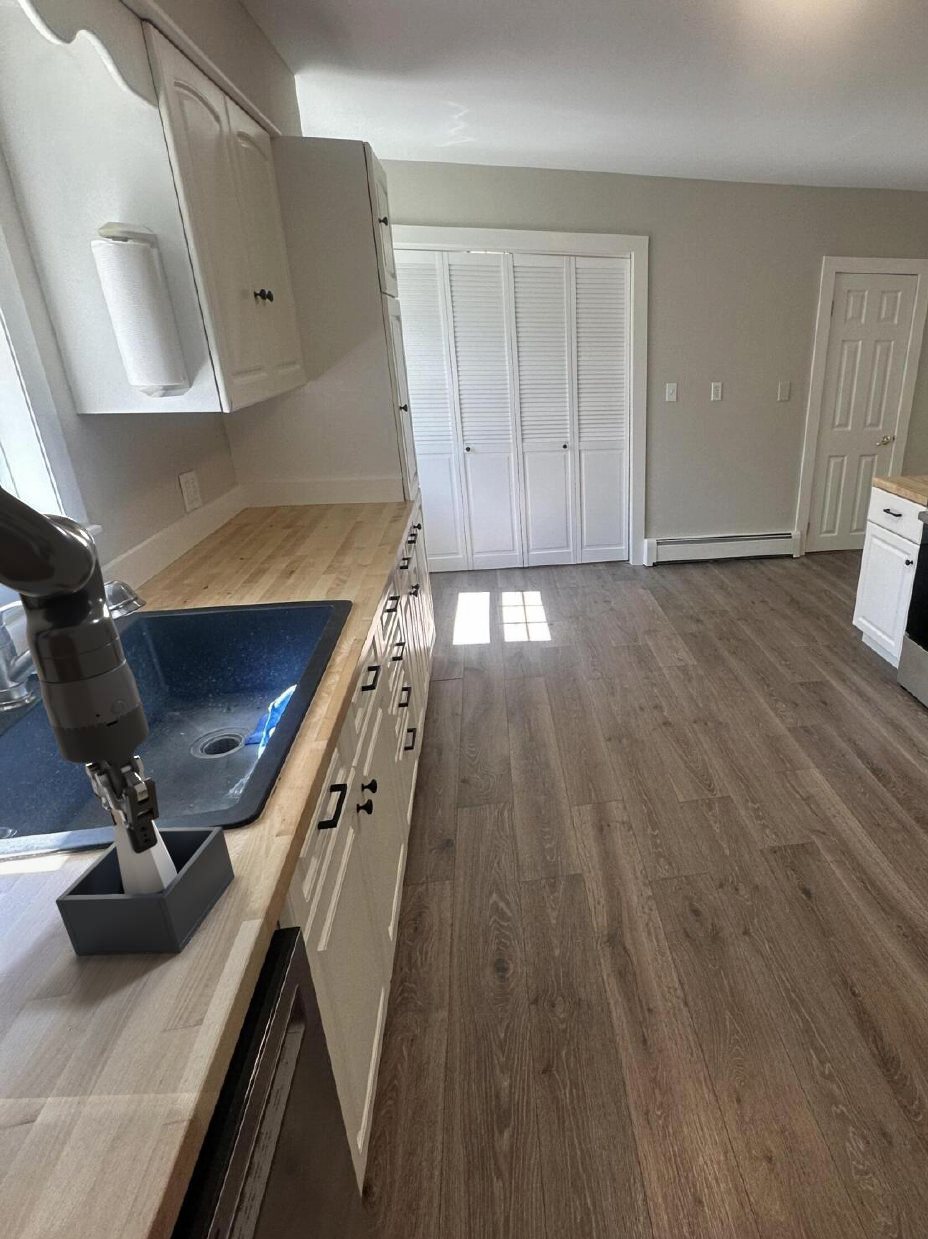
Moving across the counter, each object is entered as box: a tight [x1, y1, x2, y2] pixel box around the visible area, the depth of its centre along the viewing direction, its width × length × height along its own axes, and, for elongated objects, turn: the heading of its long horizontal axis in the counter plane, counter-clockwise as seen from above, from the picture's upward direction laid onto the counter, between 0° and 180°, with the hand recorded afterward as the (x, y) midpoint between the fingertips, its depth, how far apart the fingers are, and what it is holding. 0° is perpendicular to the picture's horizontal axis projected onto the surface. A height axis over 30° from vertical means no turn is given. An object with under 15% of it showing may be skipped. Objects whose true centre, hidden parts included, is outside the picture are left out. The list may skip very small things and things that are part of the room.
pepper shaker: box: [112, 808, 177, 894], centre depth 75 cm, size 5×5×11 cm
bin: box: [55, 826, 236, 956], centre depth 77 cm, size 11×11×8 cm
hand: (137, 839), depth 74 cm, fingers closed on pepper shaker, 4 cm apart
